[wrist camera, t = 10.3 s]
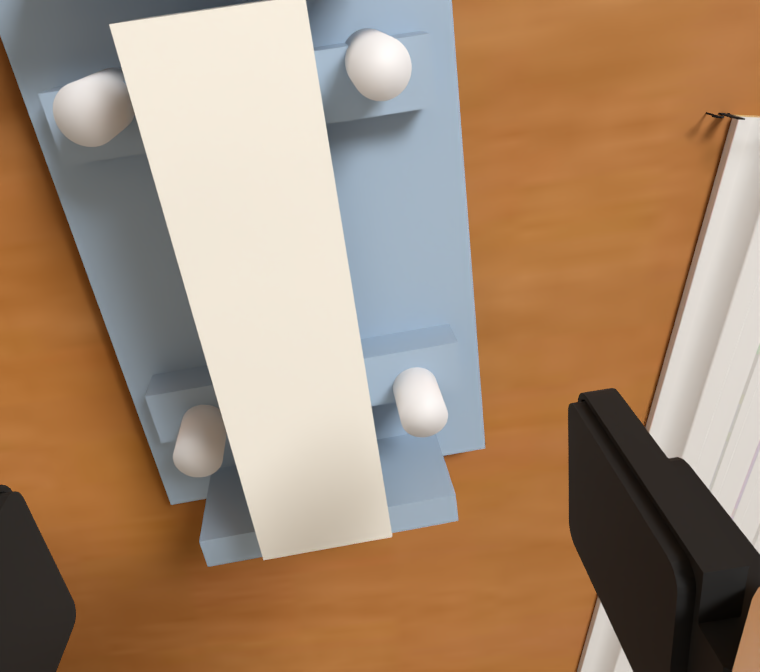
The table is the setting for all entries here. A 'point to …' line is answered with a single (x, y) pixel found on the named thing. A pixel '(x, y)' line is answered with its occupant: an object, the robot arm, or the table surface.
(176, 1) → the rack
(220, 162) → the clay bar
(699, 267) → the grooved white panel
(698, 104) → the table surface
